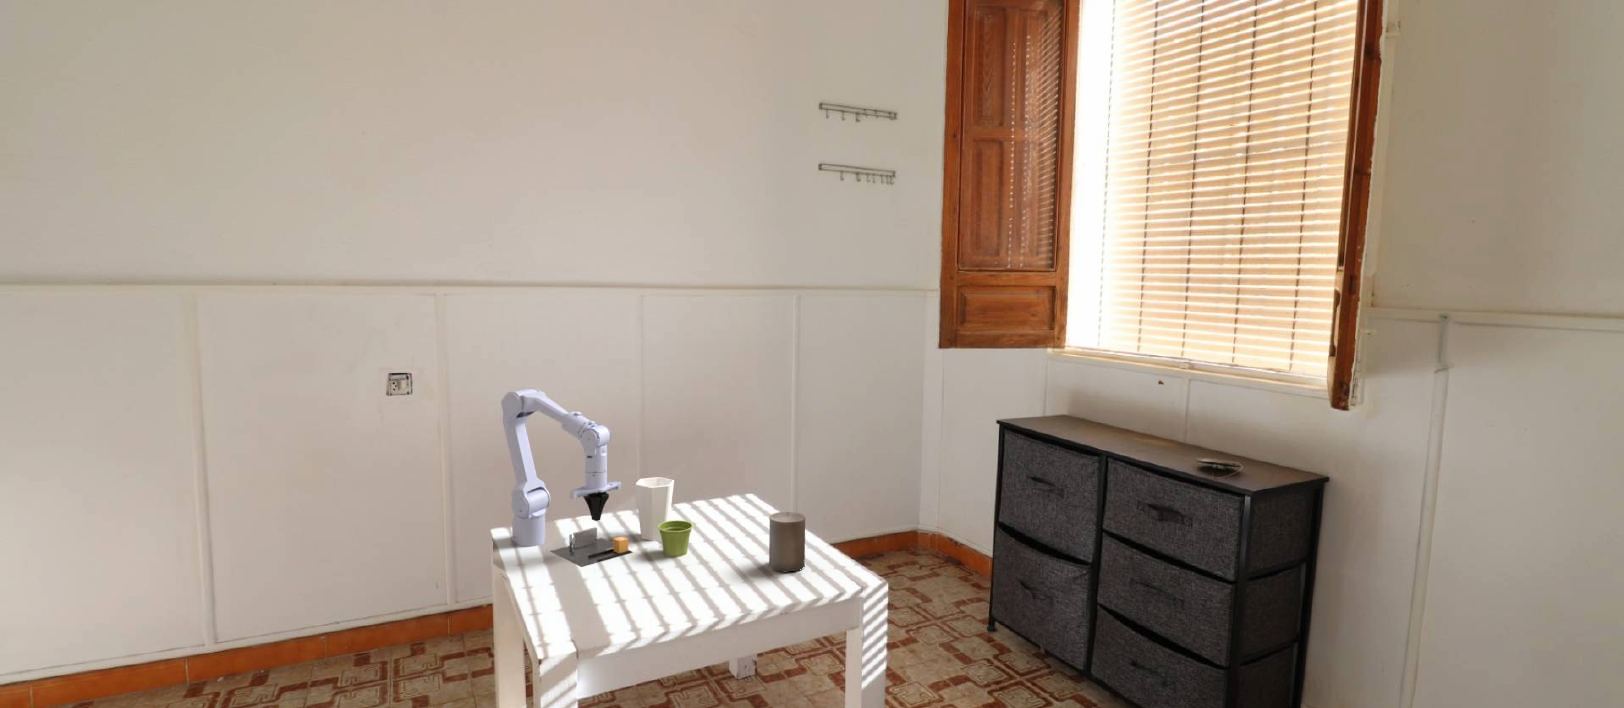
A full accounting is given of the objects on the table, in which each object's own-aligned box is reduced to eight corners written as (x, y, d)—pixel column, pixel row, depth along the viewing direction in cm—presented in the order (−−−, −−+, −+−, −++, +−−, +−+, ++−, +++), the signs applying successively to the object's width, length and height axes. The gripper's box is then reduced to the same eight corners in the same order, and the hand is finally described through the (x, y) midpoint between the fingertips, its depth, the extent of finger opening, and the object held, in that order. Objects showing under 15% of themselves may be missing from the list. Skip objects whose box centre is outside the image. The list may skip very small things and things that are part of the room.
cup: (680, 538, 232) (681, 481, 230) (656, 548, 223) (656, 489, 221) (652, 531, 238) (652, 475, 236) (627, 540, 229) (628, 482, 227)
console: (549, 554, 216) (549, 536, 215) (601, 541, 228) (601, 524, 227) (581, 570, 205) (581, 551, 205) (633, 555, 217) (633, 537, 216)
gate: (574, 547, 218) (574, 533, 217) (572, 546, 219) (572, 532, 218) (596, 541, 223) (596, 528, 223) (594, 541, 224) (594, 527, 223)
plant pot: (685, 564, 212) (685, 532, 211) (652, 560, 214) (652, 529, 213) (697, 552, 221) (697, 522, 220) (665, 549, 223) (665, 519, 222)
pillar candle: (812, 566, 212) (813, 511, 211) (786, 575, 205) (787, 519, 204) (786, 557, 219) (787, 504, 218) (760, 566, 212) (761, 511, 211)
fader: (613, 551, 216) (613, 538, 216) (622, 548, 218) (622, 536, 218) (619, 553, 215) (619, 540, 214) (628, 551, 217) (628, 538, 216)
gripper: (579, 477, 205) (580, 529, 206) (627, 468, 215) (627, 517, 217) (565, 472, 209) (565, 522, 211) (612, 464, 220) (612, 511, 221)
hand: (595, 519), depth 214 cm, fingers closed
